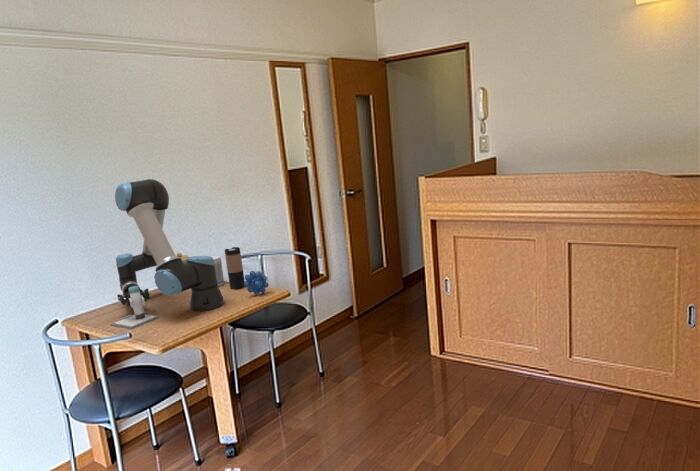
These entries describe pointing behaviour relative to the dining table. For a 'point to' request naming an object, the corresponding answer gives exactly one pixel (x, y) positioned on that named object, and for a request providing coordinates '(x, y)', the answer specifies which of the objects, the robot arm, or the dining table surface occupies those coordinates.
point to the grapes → (256, 282)
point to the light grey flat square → (133, 321)
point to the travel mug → (234, 268)
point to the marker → (136, 302)
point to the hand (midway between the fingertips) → (137, 303)
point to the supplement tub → (218, 270)
